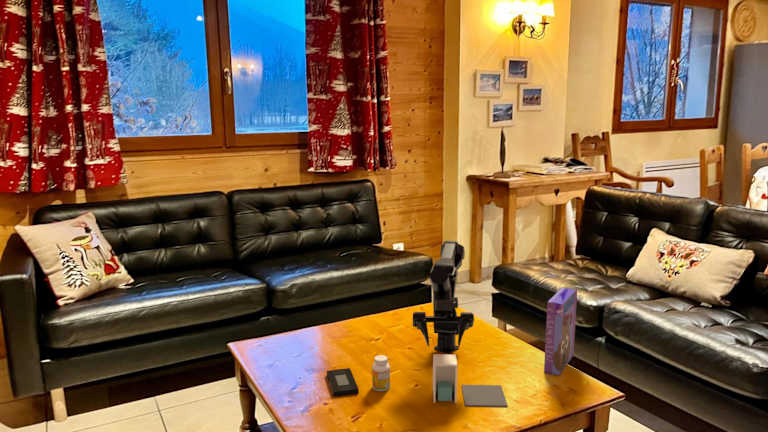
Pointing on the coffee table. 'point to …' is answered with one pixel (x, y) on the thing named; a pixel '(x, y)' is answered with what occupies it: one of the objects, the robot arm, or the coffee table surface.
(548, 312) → the cereal box
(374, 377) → the supplement bottle
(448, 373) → the white boxy piece
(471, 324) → the robot arm
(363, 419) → the coffee table surface
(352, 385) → the vhs tape
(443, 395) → the teal cube
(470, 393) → the mat
